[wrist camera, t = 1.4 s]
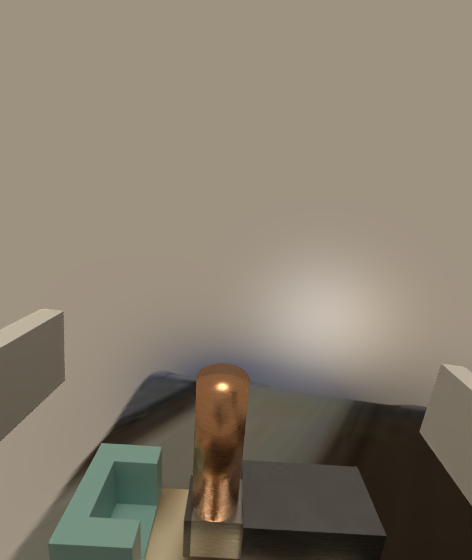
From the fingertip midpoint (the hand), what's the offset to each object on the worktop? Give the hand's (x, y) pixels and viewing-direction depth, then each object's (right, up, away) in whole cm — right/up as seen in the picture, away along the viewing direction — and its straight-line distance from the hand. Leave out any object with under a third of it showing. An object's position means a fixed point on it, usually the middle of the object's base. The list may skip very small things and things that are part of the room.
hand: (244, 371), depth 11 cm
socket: (-11, -20, +18) cm, 29 cm away
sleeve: (+5, -21, +18) cm, 28 cm away
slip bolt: (+3, -20, +17) cm, 27 cm away
